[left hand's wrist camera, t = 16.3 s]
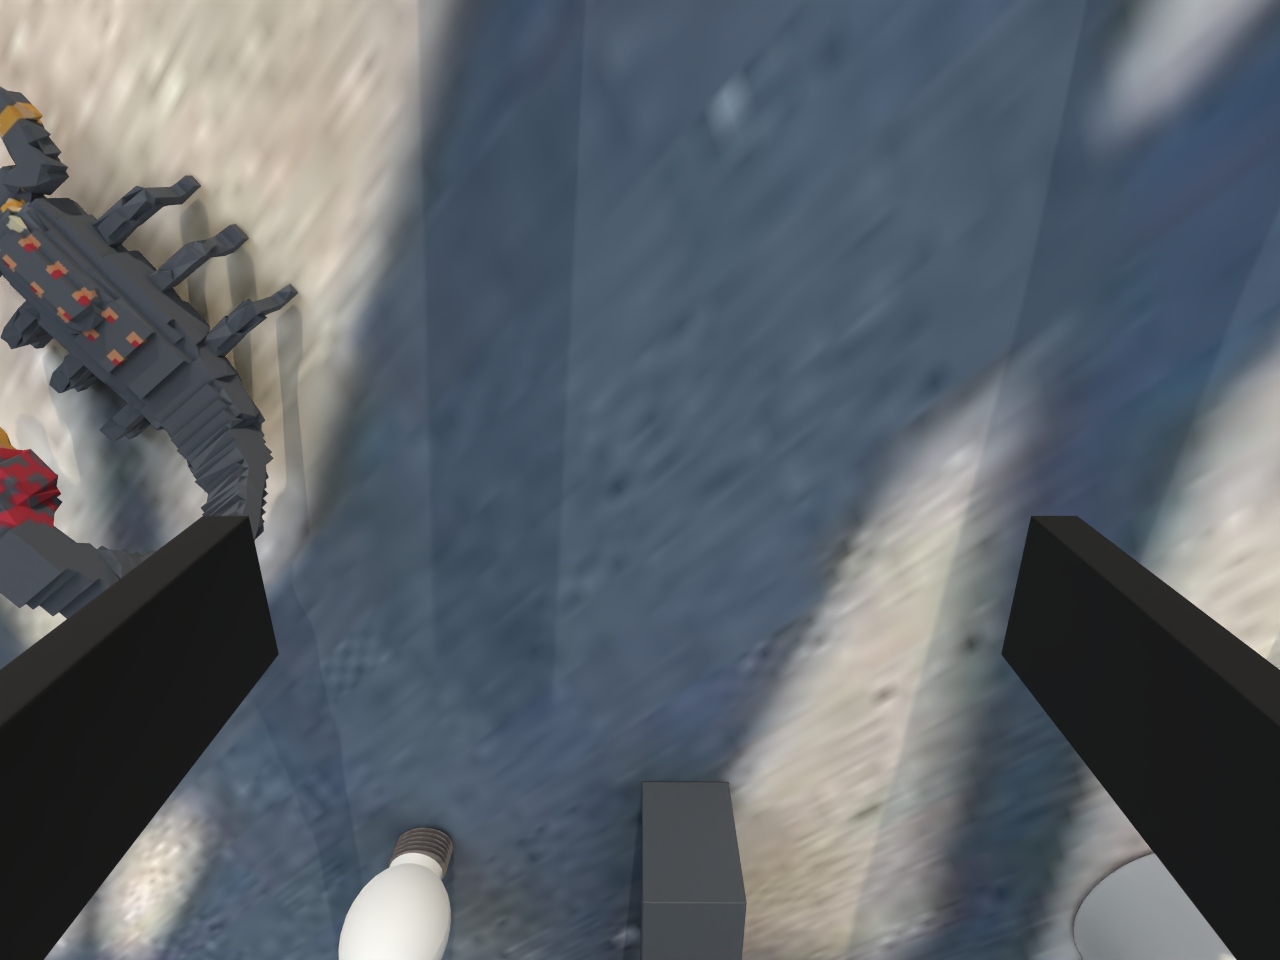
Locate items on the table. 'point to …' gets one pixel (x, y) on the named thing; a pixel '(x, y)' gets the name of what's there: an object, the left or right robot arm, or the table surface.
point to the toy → (114, 360)
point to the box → (690, 873)
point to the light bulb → (403, 904)
